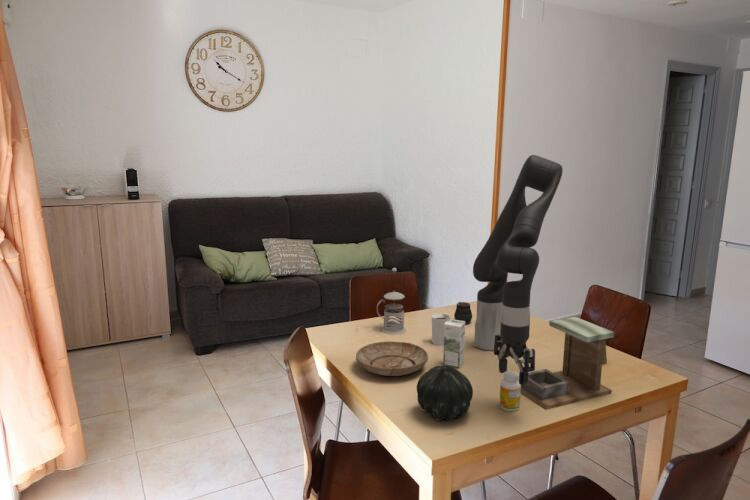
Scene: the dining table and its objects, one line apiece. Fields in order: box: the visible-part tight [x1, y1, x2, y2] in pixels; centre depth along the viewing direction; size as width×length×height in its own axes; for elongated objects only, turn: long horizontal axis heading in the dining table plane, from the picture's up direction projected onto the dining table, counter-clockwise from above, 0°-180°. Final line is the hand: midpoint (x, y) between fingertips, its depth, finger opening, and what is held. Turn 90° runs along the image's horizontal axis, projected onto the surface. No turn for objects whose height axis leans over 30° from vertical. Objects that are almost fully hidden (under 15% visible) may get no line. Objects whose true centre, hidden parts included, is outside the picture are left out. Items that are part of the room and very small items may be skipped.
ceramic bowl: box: [355, 341, 429, 377], centre depth 169 cm, size 23×24×5 cm
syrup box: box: [442, 318, 466, 369], centre depth 171 cm, size 6×6×14 cm
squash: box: [416, 365, 474, 421], centre depth 139 cm, size 14×15×15 cm
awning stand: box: [518, 316, 615, 410], centre depth 153 cm, size 24×16×18 cm, turn 113°
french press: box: [376, 267, 407, 336], centre depth 202 cm, size 10×12×25 cm
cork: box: [602, 339, 608, 365], centre depth 174 cm, size 6×6×11 cm
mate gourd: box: [454, 301, 473, 325], centre depth 212 cm, size 7×8×10 cm
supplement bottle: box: [499, 370, 521, 412], centre depth 143 cm, size 5×5×10 cm
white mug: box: [431, 313, 451, 346], centre depth 190 cm, size 7×7×10 cm
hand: (512, 378), depth 142 cm, fingers open, 8 cm apart
